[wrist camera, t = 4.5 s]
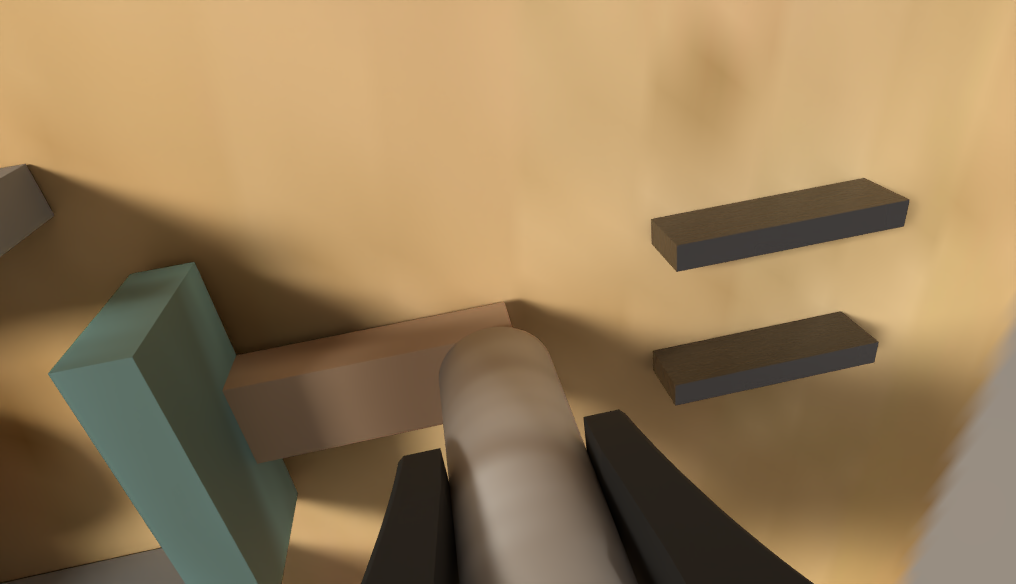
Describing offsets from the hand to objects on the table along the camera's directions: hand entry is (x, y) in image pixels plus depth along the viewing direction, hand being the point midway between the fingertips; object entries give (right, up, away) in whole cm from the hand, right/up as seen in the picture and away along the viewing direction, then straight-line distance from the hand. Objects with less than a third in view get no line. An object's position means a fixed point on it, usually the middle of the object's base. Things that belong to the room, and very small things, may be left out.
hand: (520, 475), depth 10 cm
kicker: (-4, +1, +4) cm, 6 cm away
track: (+6, +3, +4) cm, 8 cm away
